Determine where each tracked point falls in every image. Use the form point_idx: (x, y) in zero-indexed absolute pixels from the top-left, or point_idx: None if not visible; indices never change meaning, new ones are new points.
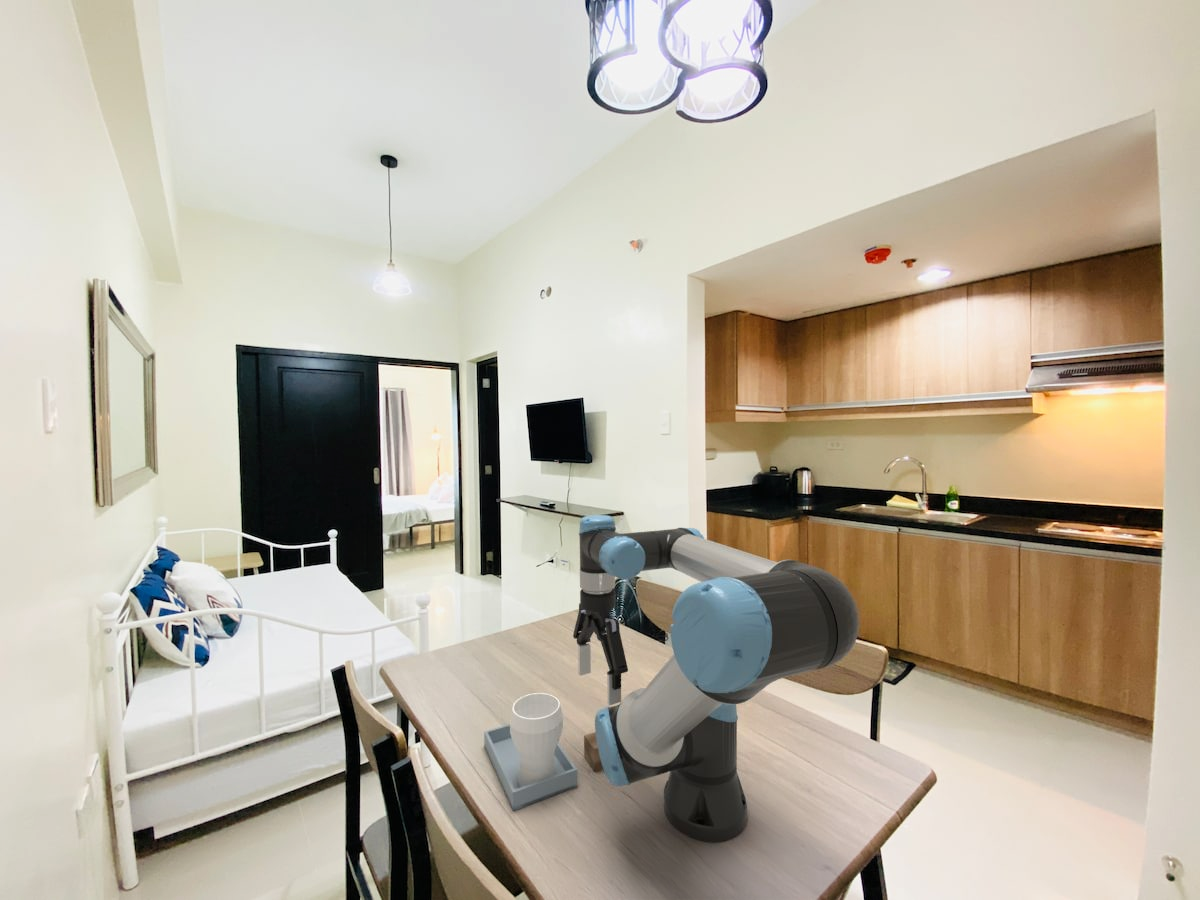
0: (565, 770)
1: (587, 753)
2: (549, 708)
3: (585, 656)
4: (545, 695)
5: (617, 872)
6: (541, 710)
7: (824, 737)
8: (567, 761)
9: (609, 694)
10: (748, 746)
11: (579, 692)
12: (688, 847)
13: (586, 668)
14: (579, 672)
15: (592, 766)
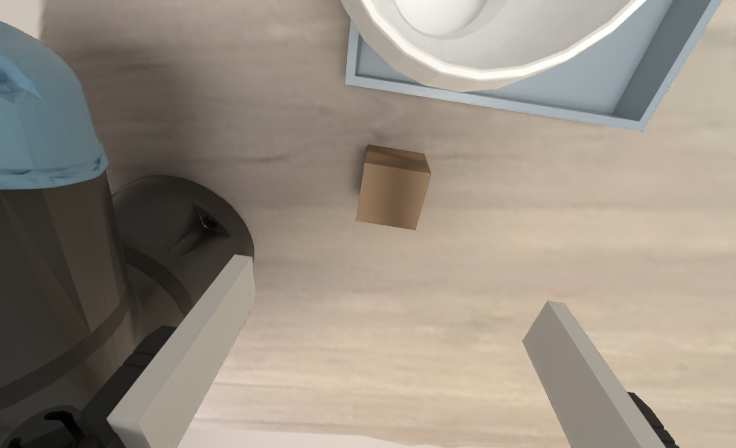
0: (409, 81)
1: (406, 157)
2: (527, 63)
3: (584, 418)
4: (585, 35)
5: (89, 3)
6: (564, 27)
7: (244, 419)
8: (396, 82)
9: (206, 291)
10: (275, 363)
11: (625, 283)
12: (118, 164)
13: (543, 350)
14: (560, 312)
15: (378, 148)
